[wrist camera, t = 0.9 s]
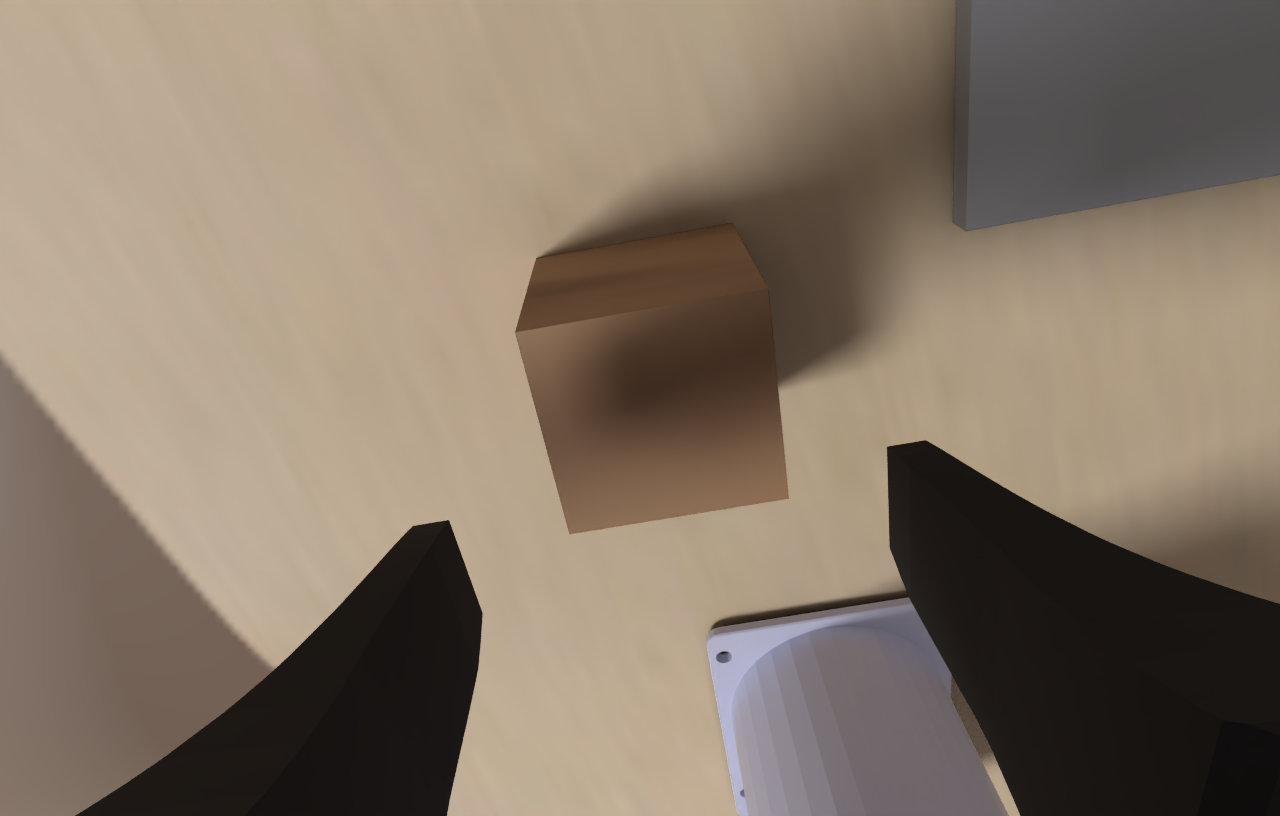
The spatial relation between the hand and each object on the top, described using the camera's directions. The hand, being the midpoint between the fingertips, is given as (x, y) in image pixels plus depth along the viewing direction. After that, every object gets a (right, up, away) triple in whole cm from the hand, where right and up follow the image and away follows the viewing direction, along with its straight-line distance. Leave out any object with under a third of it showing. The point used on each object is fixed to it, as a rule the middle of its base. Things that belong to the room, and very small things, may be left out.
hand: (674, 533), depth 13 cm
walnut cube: (0, +4, +8) cm, 9 cm away
